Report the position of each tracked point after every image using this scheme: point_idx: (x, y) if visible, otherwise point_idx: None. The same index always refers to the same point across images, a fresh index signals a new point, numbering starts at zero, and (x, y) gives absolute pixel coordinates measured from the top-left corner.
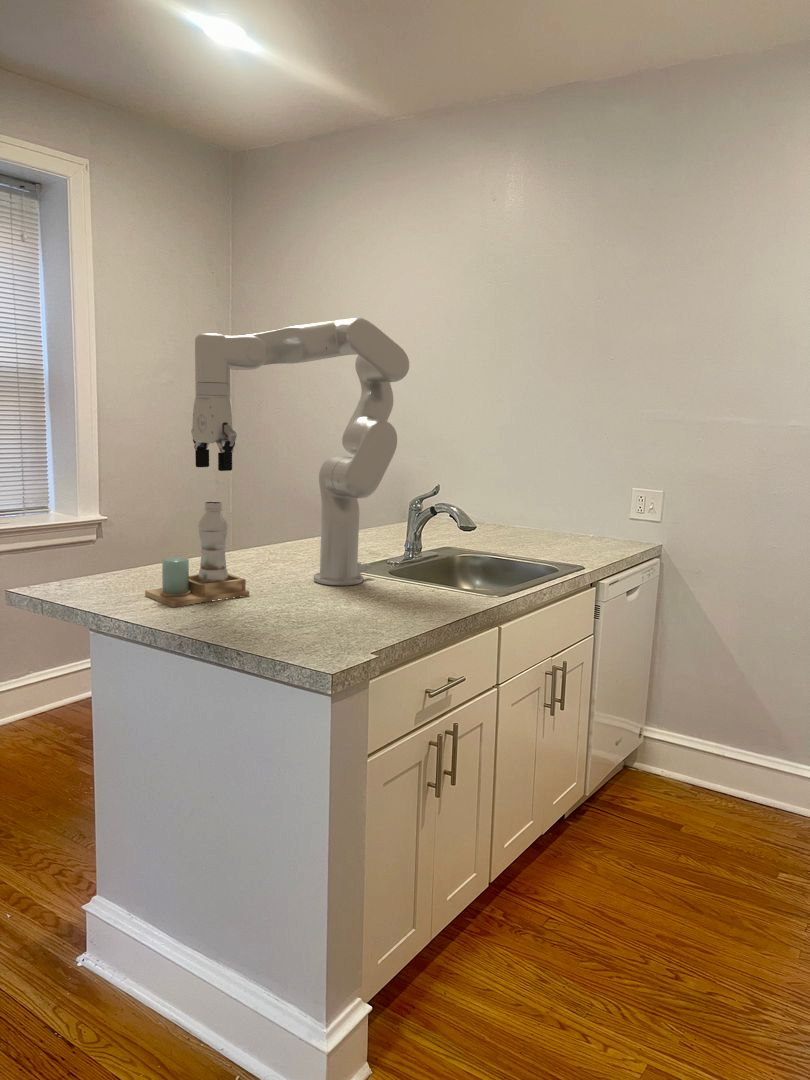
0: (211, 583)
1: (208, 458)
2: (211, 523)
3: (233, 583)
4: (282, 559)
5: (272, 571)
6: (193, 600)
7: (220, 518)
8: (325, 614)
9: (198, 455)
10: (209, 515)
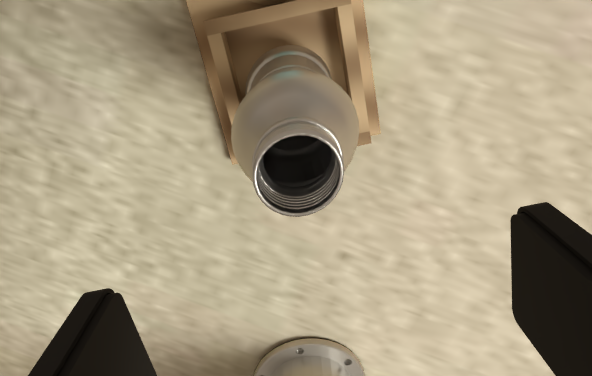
0: (220, 61)
1: (556, 370)
2: (241, 116)
3: None
4: None
5: (467, 297)
6: None
7: (249, 167)
8: (16, 249)
9: (584, 290)
10: (265, 124)
